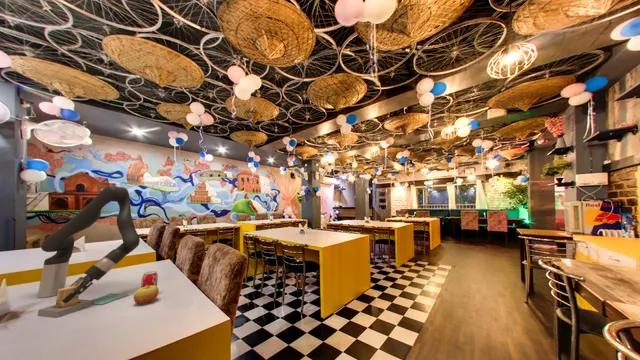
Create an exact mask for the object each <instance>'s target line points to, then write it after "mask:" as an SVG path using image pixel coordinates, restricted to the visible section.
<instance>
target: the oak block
mask: <svg viewBox="0 0 640 360" xmlns="http://www.w3.org/2000/svg"><path fill="white" fill-rule="evenodd" d="M69 286H70V287H69ZM69 286H67V287H65V288H63V289H59V290H58V293H57V295H56V300H55V305H56V306H55V308H61V309H62V308H66V307H69V306H72V305H75V304H78V299H79V296H80V295H77V296H75V297H74V298H72V299H71V300H70V301H69V302H68V303H64V302H62V300H63V299H64V298H66V297H67V296H68V295H69V294H70V293H72V291H73V290H74V289H75V287H76V286H71V285H69ZM78 291H79V290H78Z"/></svg>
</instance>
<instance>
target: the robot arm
mask: <svg viewBox="0 0 640 360" xmlns="http://www.w3.org/2000/svg"><path fill="white" fill-rule="evenodd" d="M109 203H117V205H118V207H119V210H118V211H119V212H118V213H117V217H116V225H117V229H118V231H119V234H120V235H121V238H122V243H121V244H120V245H119V246H118V247H116V248H115V249H112V250H111V251H109V252H108V253H107V254H105V256H103V257H101V258H100V259H98V260H97V261H96V262H95V263H93V265H91V266H89V268H87V269H86V270H85V271H84V274H85V276H83V277H82V276H80V277H79V278H78V279H76V280H75V281H74V282H73V283H72V284H70V285H69V286H68V287H70V286H76V287H75V289H74V290H73V291H72V293H70V294H69V295H68V296H67V297H66V298H64V299H63V300H62V302H64V303H68V302H69V301H70V300H71V299H72V298H74V297H75V296H77V295H79V296H80V295H82V294H83V293H84V292H85V291H86V290H87V289H88V288H90V287H91V286H92V285H94V282H93V281H94V280H95V281H99V280H101V279H102V278H103V277H104V276H106V274H108V273H109V272H110V271H111V270H112V269H113V268H114V267H115V266H116V265H118V264H119V263H120V262H121V261H122V260H123V259H124V258H125V257H126V256H128V255H129V254H130V253H131V252H133V251H134V250H135V249H136V248H138V246H139V245H140V241H141V240H140V237H139V234H138V232H137V230H136V226H135V223H134V219H133V217H132V211H131V201H130V193H129V190H128V189H127V188H126V187H122V186H116V185H115V186H114V185H110V186H109V185H108V186H106V187H104V188H102V190H100V191H99V193H98V194H97V195H96V196H95V197H94V198H93V199H92V200H91V201H90V202H89V203H88V204H87V205H86V206H84V208H82V209H81V210H80V211H78V213H77V214H75V215H74V216H73V217H72V218H71V219H69V221H68V222H65V224H64V225H62V226H61V227H60V228H58V229H57V230H56V231H54V232H53V233H51V234H50V235H49V236H47V237H46V238H44V240H43V241H42V243H41V245H40V246H41V250H42V251H43V252H45V253H54V252H56V253H54V254H53V255H52V256H50V257H48V258H45V260H44V262H43V267H42V271H41V272H42V273H41V277H40V282H39V287H38V292H37V297H38V298H41V299H43V298H48V297H49V298H50V297H54V296H57V293H58V290H59V289H63V288H66V284H67V277H68V272H69V271H68V269H69V264H70V259H71V257H72V255H73V251H74V247H75V237H74V235H75V234H78V233H80V232H82V231H84V230H86V229H89V228H90V227H92V226H93V225H94V224H95V223H96V222H97V221H99V219H100V217H102V216H101V215H102V210H103V208H104V207H105V206H106V205H107V204H109ZM78 290H79V291H78Z"/></svg>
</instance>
